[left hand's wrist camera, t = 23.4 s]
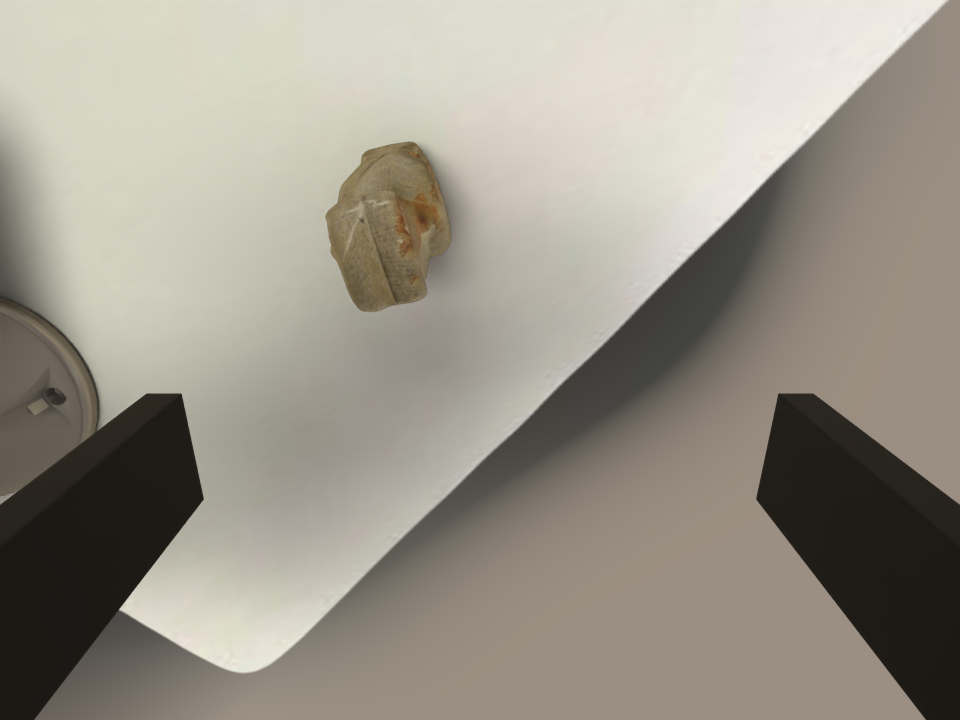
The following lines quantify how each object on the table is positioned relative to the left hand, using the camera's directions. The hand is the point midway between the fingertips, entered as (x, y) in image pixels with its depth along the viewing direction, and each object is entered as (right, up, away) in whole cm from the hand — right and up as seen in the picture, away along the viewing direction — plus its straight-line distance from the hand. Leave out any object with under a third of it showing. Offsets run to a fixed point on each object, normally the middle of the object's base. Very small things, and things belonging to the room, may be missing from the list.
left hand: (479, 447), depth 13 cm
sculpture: (-5, +13, +25) cm, 28 cm away
